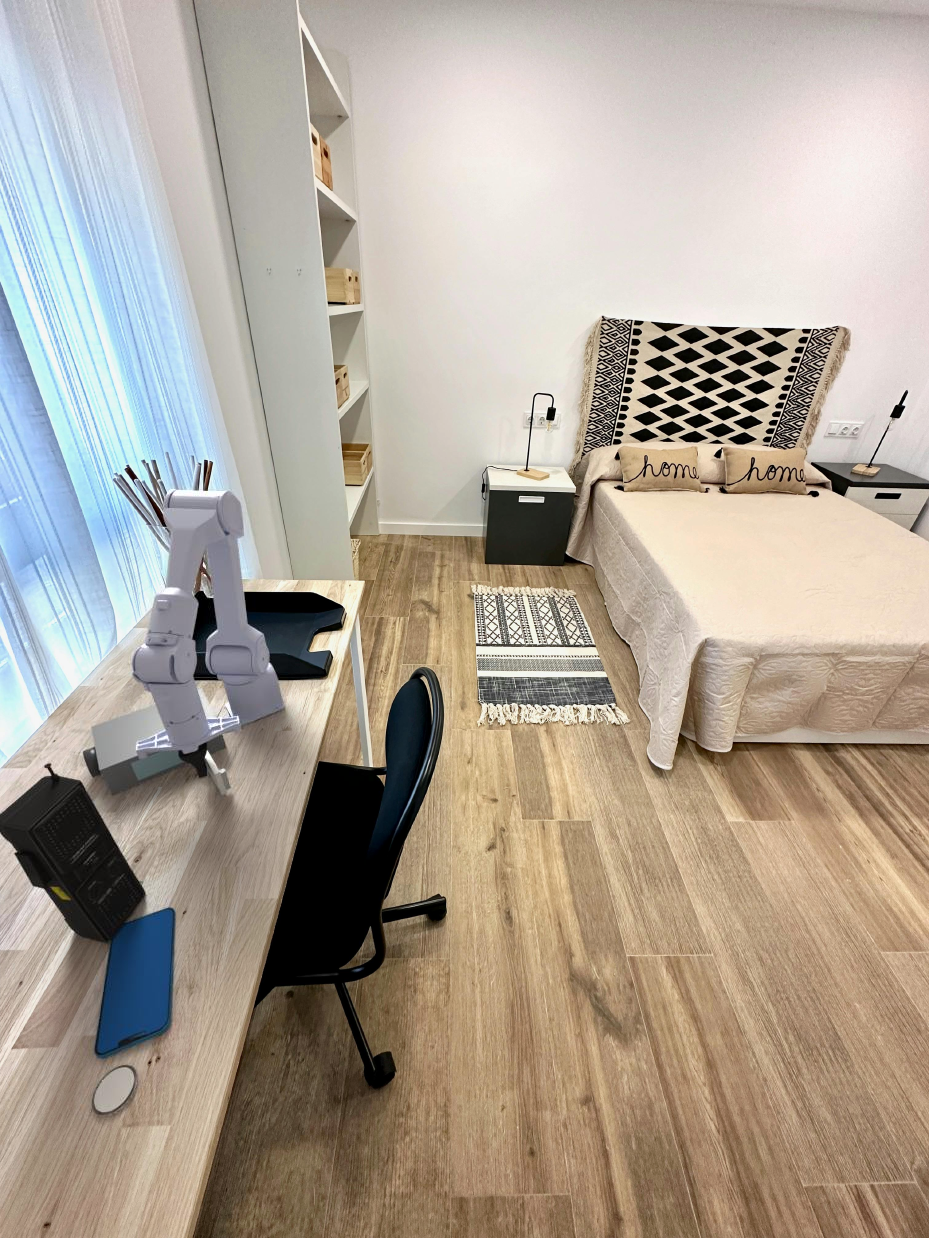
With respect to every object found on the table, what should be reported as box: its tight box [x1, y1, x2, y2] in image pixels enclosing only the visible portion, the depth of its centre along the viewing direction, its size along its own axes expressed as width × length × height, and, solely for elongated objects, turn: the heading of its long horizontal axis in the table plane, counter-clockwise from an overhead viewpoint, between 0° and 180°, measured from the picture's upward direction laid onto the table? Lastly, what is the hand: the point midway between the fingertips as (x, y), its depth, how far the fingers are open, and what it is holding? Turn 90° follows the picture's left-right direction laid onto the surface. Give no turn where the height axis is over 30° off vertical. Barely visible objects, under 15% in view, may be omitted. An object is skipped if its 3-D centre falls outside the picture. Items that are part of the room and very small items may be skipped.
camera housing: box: [82, 687, 227, 796], centre depth 90 cm, size 20×12×6 cm, turn 127°
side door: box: [204, 751, 232, 796], centre depth 86 cm, size 10×2×5 cm, turn 41°
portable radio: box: [0, 762, 147, 944], centre depth 61 cm, size 8×6×25 cm
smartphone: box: [93, 906, 176, 1060], centre depth 61 cm, size 7×1×15 cm
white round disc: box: [91, 1064, 139, 1118], centre depth 52 cm, size 4×4×1 cm
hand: (203, 772), depth 84 cm, fingers closed
